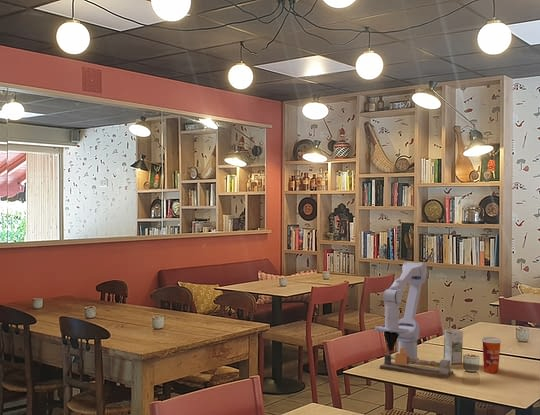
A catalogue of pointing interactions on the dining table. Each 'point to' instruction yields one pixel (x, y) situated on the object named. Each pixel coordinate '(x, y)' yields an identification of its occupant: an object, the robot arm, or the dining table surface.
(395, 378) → the dining table surface
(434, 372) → the grey slider rail
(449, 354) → the syrup box
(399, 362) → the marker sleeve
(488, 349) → the paper cup
